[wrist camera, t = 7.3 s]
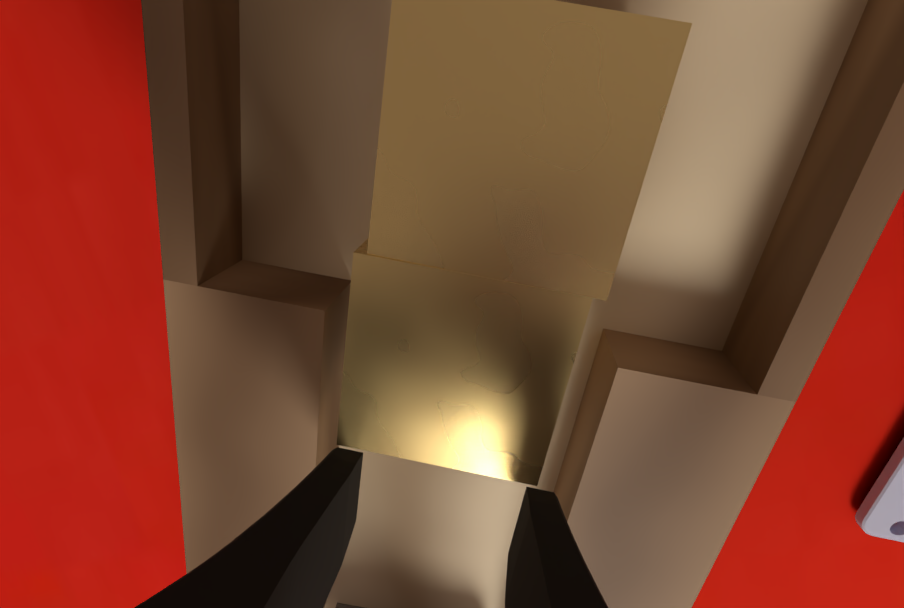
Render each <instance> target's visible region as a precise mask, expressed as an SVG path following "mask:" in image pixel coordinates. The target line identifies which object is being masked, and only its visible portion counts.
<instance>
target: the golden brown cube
mask: <svg viewBox="0 0 904 608" xmlns="http://www.w3.org/2000/svg"><path fill="white" fill-rule="evenodd" d="M691 26H692V23H688V22H682V21H676V20H670V19H664V18H658V17H652V16H646V15H640V14H634V13H628V12H622V11H616V10H610V9H604V8H598V7H592V6H586V5H580V4H574V3H568V2H562V1H556V0H392V5H391V15H390V25H389V36H388V46H387V56H386V66H385V76H384V86H383V97H382V107H381V117H380V127H379V137H378V147H377V157H376V168H375V178H374V188H373V198H372V208H371V218H370V228H369V239H368V249H367V254H368V255H373V256H379V257H384V258H389V259H394V260H399V261H404V262H409V263H415V264H420V265H425V266H430V267H435V268H440V269H445V270H451V271H456V272H461V273H466V274H471V275H476V276H481V277H487V278H492V279H497V280H502V281H507V282H512V283H517V284H523V285H528V286H533V287H538V288H543V289H548V290H553V291H559V292H564V293H569V294H574V295H579V296H584V297H589V298H595V299H600V300H605V301H607V298H608V295H609V291H610V288H611V285H612V282H613V278H614V275H615V272H616V269H617V266H618V262H619V259H620V256H621V253H622V249H623V246H624V243H625V240H626V236H627V233H628V230H629V227H630V224H631V220H632V217H633V214H634V211H635V207H636V204H637V201H638V198H639V194H640V191H641V188H642V185H643V181H644V178H645V175H646V172H647V169H648V165H649V162H650V159H651V156H652V152H653V149H654V146H655V143H656V139H657V136H658V133H659V130H660V126H661V123H662V120H663V117H664V114H665V110H666V107H667V104H668V101H669V97H670V94H671V91H672V88H673V84H674V81H675V78H676V75H677V71H678V68H679V65H680V62H681V59H682V55H683V52H684V49H685V46H686V42H687V39H688V36H689V33H690V29H691Z"/></svg>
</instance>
